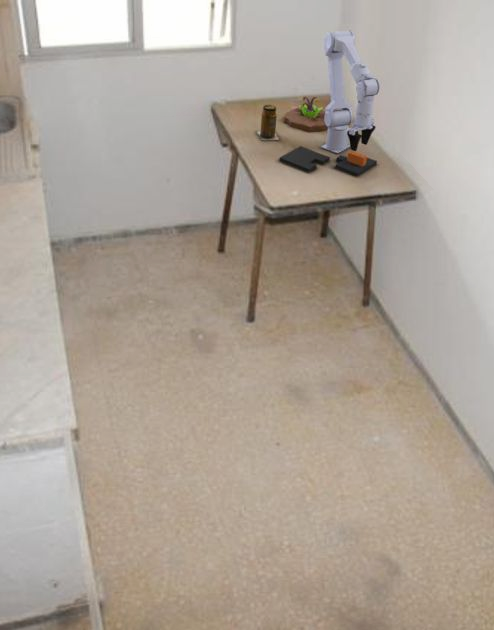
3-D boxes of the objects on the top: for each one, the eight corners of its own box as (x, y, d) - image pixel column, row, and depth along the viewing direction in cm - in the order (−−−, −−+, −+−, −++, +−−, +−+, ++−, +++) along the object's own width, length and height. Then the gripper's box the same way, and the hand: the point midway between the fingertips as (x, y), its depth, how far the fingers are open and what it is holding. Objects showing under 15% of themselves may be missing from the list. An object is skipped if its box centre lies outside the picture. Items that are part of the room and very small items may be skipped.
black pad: (300, 149, 285) (300, 146, 284) (329, 160, 279) (330, 157, 278) (279, 161, 277) (279, 157, 276) (308, 172, 270) (309, 169, 269)
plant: (312, 135, 296) (315, 109, 289) (276, 120, 306) (278, 95, 300) (342, 122, 308) (345, 97, 301) (307, 108, 318) (309, 83, 311)
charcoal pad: (348, 154, 284) (349, 142, 281) (376, 164, 278) (378, 152, 275) (328, 165, 275) (329, 153, 272) (357, 176, 269) (359, 164, 266)
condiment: (273, 131, 298) (276, 103, 291) (279, 139, 292) (281, 111, 284) (256, 132, 296) (258, 103, 289) (261, 140, 290) (263, 112, 283)
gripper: (363, 121, 256) (357, 156, 264) (383, 109, 265) (377, 144, 273) (346, 115, 259) (341, 150, 268) (367, 104, 268) (362, 138, 277)
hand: (358, 147), depth 271 cm, fingers open, 7 cm apart
